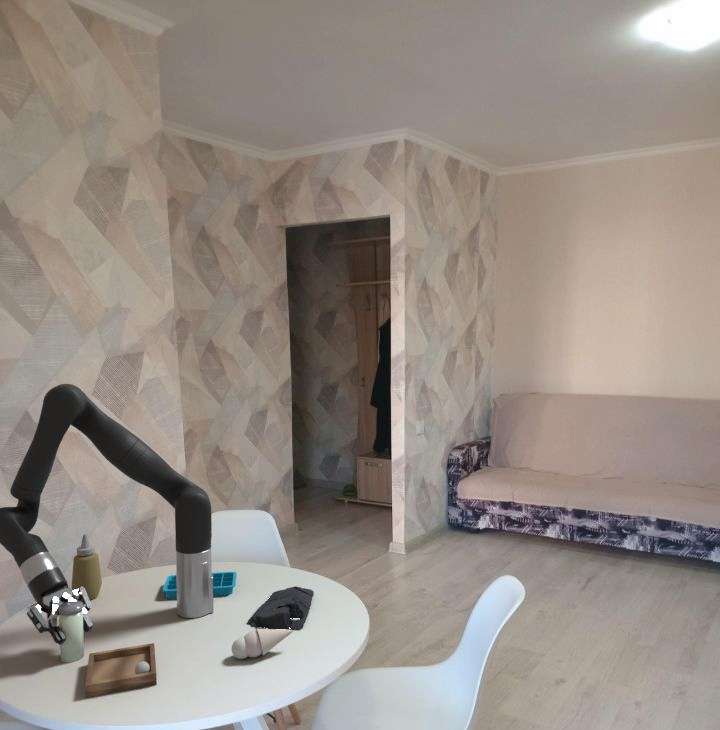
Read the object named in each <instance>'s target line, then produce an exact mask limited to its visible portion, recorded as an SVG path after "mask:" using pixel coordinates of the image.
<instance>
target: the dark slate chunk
mask: <svg viewBox="0 0 720 730" xmlns="http://www.w3.org/2000/svg"><path fill="white" fill-rule="evenodd" d="M271 594H272V595H271ZM271 594H270V595H269V597H270V598H269V597H268V598H269V599H268V598H267V601H264V602H265V603H264V602H263V604H261V605H260V606H259V607H258V608H257V609H256V610H255V612H254V613H253V614H252V615H251V617H250V618H249V619H248V620H247V623H246V624H247V625H250V628H257V627H265V628H268V629H288V630H289V627H290V628H291V629H294V630H302V629H304V626H305V623H306V620H307V619H308V616H309V613H310V609H311V606H312V602H313V601H312V600H313V597H314V596H315V593H314V590H313V589H309V588H305V587H300V586H292V587H291V586H290V587H287V588H285V589H280V590H276V591H274V592H272V593H271ZM290 618H292V619H293V618H300V620H291V619H290ZM265 628H264V629H265ZM301 628H302V629H301Z"/></svg>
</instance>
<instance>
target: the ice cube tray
mask: <svg viewBox="0 0 720 730" xmlns="http://www.w3.org/2000/svg"><path fill="white" fill-rule="evenodd" d="M237 573H238V572H236V571H218V572H212V577H213V597H217V595H221V596H229V594H230V595H232V594H233V591H234V588H235V587H236V584H237ZM162 592H164V593H165V598H166V599H168V600H173V599H177V583H176V574H172V575H169V576H167V578H166V580H165V582H164V585H163V587H162Z"/></svg>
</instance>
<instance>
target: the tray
mask: <svg viewBox="0 0 720 730" xmlns="http://www.w3.org/2000/svg"><path fill="white" fill-rule="evenodd" d="M155 648H156V647H155V642H153V643H146V644H140V645H133V646H129V647H123V648H122V647H121V648H117V649H116V648H115V649H109V650H104V651H103V650H102V651H97V652H90V653H89V655H88V661H87V662H88V663H87V668H86V669H87V670H86V675H85V676H86V677H85V683H84V693H85V696H84V697H85V698H91V697H97V696H101V695H108V694H112V693H119V692H123V691H129V690H135V689H139V688H140V689H141V688H145V687H151V686H156V685H157V683H158V682H157V679H158V678H157V662H156V649H155ZM143 661H144V662H147V663H148V664H149V667H150V669H149V672H147V673H141V674H136V673H135V667H136V665H137V664H138V663H140V662H143Z"/></svg>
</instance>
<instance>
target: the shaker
mask: <svg viewBox="0 0 720 730" xmlns="http://www.w3.org/2000/svg"><path fill="white" fill-rule="evenodd" d="M58 612H59V615H58V622H59V625H58V626H59V627H60V629H61V631H62V633H63V634H64V636H65V638H66V641H65V642H64V643H63V644H61V645H59V648H60V649H59V653H60V654H59V655H60V661H61V662H62V663H65V664H66V663H76V662H77V661H79V660H82V659H83V658H84V657H85V640H84V639H85V638H84V629H83V602H81V601H78V600H76V601H70V602H66V603H63V604H61V605H60V606H59V607H58Z"/></svg>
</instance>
